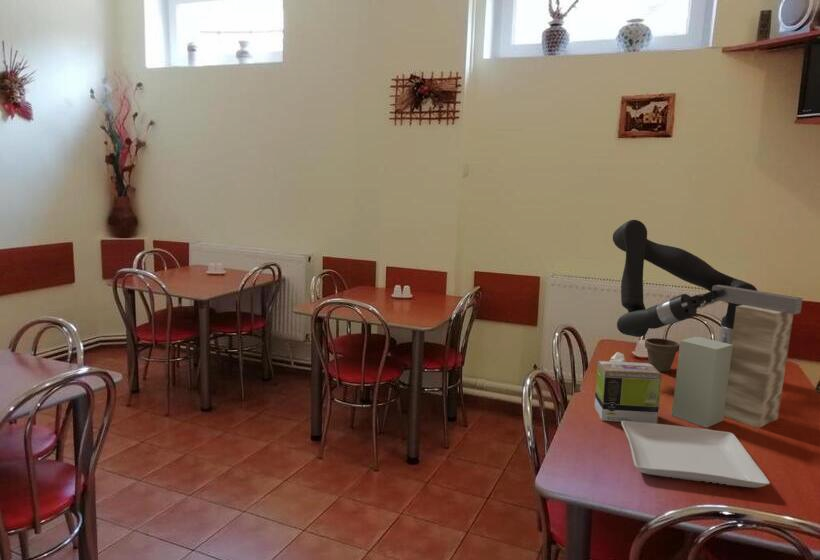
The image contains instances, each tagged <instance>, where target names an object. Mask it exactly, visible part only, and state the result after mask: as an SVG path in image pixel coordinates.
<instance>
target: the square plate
mask: <svg viewBox="0 0 820 560" xmlns="http://www.w3.org/2000/svg"><path fill="white" fill-rule="evenodd" d="M620 424H621V427H622V429H623V431H624V433H625V435H626V438H627V441H628V444H629V447H630V453H631V457H632V462H633V465H634V467H635V468H636V469H637V471H639V472H640V473H643V474H645V475H650V476H657V477H658V476H659V477H664V478H665V477H666V478H671V477H672V479H678V478H679V479H680V480H687V481H694V482H695V481H696V482H701V481H705V482H704V483H709V482H712V483H711V484H716V483H719V484H718V485H723V484H726V485H725V486H733V487H734V486H735V487H742V488H744V487H745V488H762V487H766V486H768V485H770V484H771V481H769V479H768V478H767V476H766V475H765V473H764V472H763V471H762V469H761V468H760V467H759V466H758V464H757V463H756V462H755V460H754V459H753V457H752V456H751V455H750V454H749V452H748V451H747V450H746V448H745V447H744V446H743V444H742V443H741V442H740V440H739V439H738V438H737V437H736V435H735V434H734V433H733V432H730V431H723V430H713V429H708V428H706V429H705V428H699V427H690V426H681V425H674V424H666V423H665V424H663V423H657V424H655V423H644V422H632V421H621V422H620ZM679 479H678V480H679Z"/></svg>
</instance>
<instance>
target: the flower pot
mask: <svg viewBox="0 0 820 560" xmlns="http://www.w3.org/2000/svg"><path fill="white" fill-rule="evenodd" d="M644 348H646V350H647V351H646V352H647V357H648V358H647V359H648V363H651V365H652V366H654V367H655V368H656V369H657V370H658V371H659V372H662V373H663V372H669V371H670V370H671V368H672V366H673V362H674V359H675V357H676V355H677V353H679V349H680V342H677V341H675V340H671V339H666V338H661V337H660V338H658V337H657V338H656V337H655V338H654V337H651V338H650V337H649V338H646V339H645V340H644Z"/></svg>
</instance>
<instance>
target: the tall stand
mask: <svg viewBox="0 0 820 560" xmlns="http://www.w3.org/2000/svg"><path fill="white" fill-rule="evenodd" d="M793 319H794V314H789V313H784V312H778V311H773V310H767V309H762V308H756V307H751V306H745V305H741V306H736V312H735V319H734V327H733V334H732V342H731V344H732V345H733V348H732V356H731V363H730V371H729V378H728V385H727V393H726V400H725V408H724V415H723V418H728V419H731V420H733V421H736V422H738V423H743V424H745V425H749V426H751V427H755V428H757V429H761V428H762V427H764V426H767V425H768V424H771V423H773V422H774V421H777V420H778V419H779V412H780V406H781V400H782V393H783V385H784V380H785V374H786V373H785V372H786V365H787V360H788V359H787V358H788V353H789V347H790V346H789V345H790V339H791V334H792V333H791V332H792V326H793Z"/></svg>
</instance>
